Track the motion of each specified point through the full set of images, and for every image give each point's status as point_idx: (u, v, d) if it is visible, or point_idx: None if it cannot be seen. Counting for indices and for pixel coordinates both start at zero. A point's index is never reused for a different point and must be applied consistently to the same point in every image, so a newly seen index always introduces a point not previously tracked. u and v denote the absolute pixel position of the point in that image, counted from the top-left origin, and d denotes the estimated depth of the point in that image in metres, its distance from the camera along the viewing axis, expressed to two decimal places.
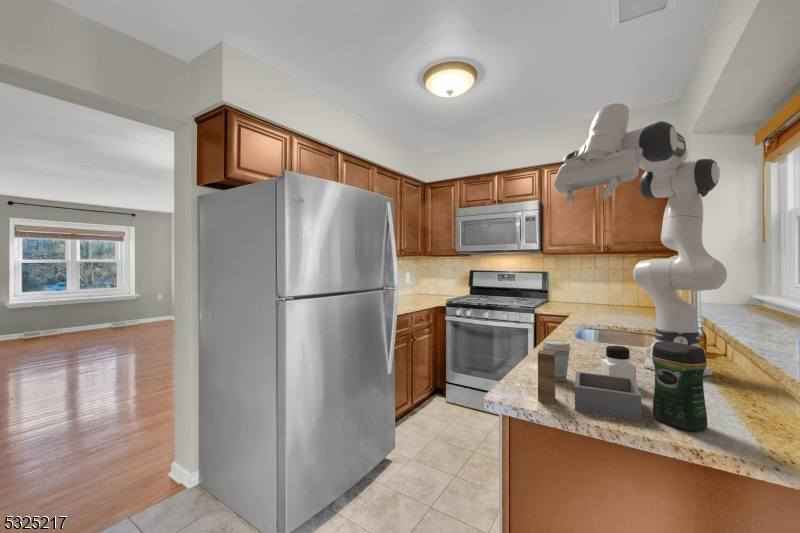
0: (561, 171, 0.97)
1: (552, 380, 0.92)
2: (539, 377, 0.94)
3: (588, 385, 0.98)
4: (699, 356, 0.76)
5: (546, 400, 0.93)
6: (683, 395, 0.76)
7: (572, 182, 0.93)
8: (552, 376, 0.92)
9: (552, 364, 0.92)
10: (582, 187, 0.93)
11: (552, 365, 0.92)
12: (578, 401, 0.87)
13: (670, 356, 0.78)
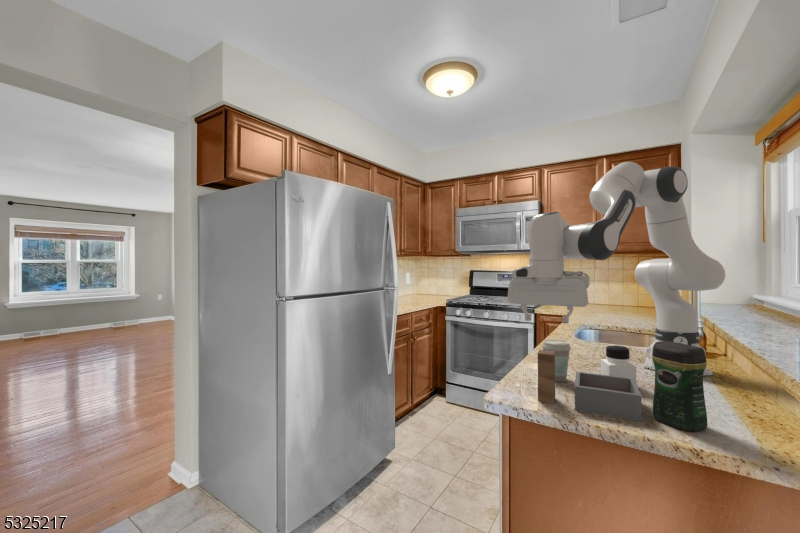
0: (512, 287, 0.97)
1: (552, 380, 0.92)
2: (539, 377, 0.94)
3: (588, 385, 0.98)
4: (699, 356, 0.76)
5: (546, 400, 0.93)
6: (683, 395, 0.76)
7: (528, 303, 0.95)
8: (552, 376, 0.92)
9: (552, 364, 0.92)
10: None
11: (552, 365, 0.92)
12: (578, 401, 0.87)
13: (670, 356, 0.78)
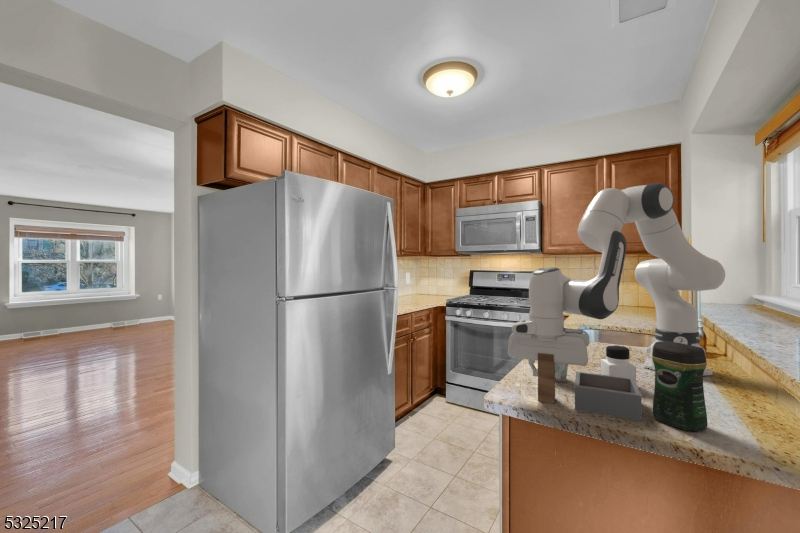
0: (512, 341, 0.97)
1: (552, 380, 0.92)
2: (539, 377, 0.94)
3: (588, 385, 0.98)
4: (699, 355, 0.76)
5: (546, 400, 0.93)
6: (683, 395, 0.76)
7: (528, 358, 0.95)
8: (552, 376, 0.92)
9: (552, 364, 0.92)
10: None
11: (552, 365, 0.92)
12: (578, 401, 0.87)
13: (670, 356, 0.78)
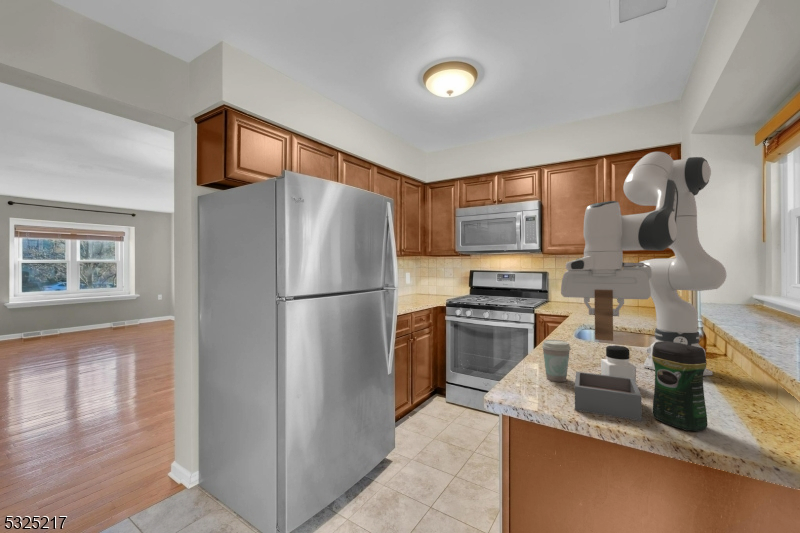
0: (567, 280, 0.93)
1: (611, 317, 0.88)
2: (596, 315, 0.90)
3: (588, 385, 0.98)
4: (699, 356, 0.76)
5: (604, 338, 0.89)
6: (683, 395, 0.76)
7: (584, 296, 0.91)
8: (611, 312, 0.88)
9: (611, 300, 0.88)
10: None
11: (611, 301, 0.88)
12: (578, 401, 0.87)
13: (670, 356, 0.78)
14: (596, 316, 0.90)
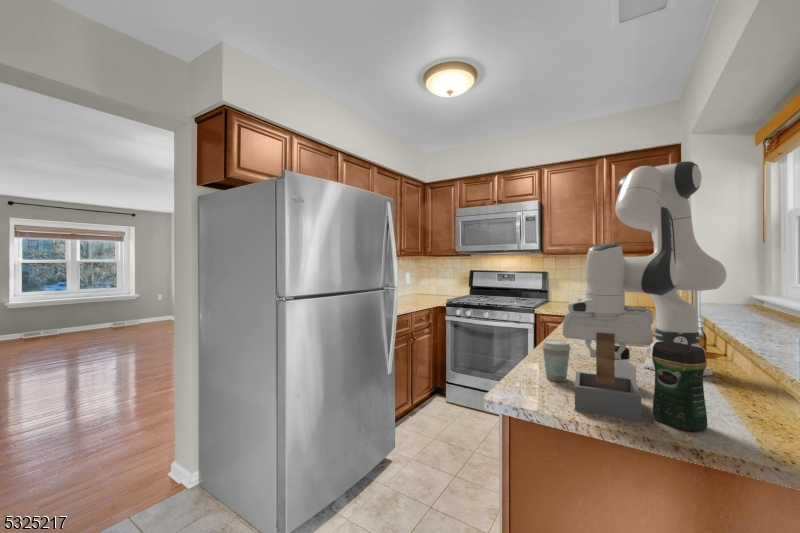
0: (568, 321, 0.93)
1: (613, 360, 0.88)
2: (598, 358, 0.90)
3: (588, 385, 0.98)
4: (699, 356, 0.76)
5: (606, 381, 0.89)
6: (683, 395, 0.76)
7: (586, 338, 0.91)
8: (613, 356, 0.88)
9: (613, 344, 0.88)
10: None
11: (613, 345, 0.88)
12: (578, 401, 0.87)
13: (670, 356, 0.78)
14: (598, 359, 0.90)
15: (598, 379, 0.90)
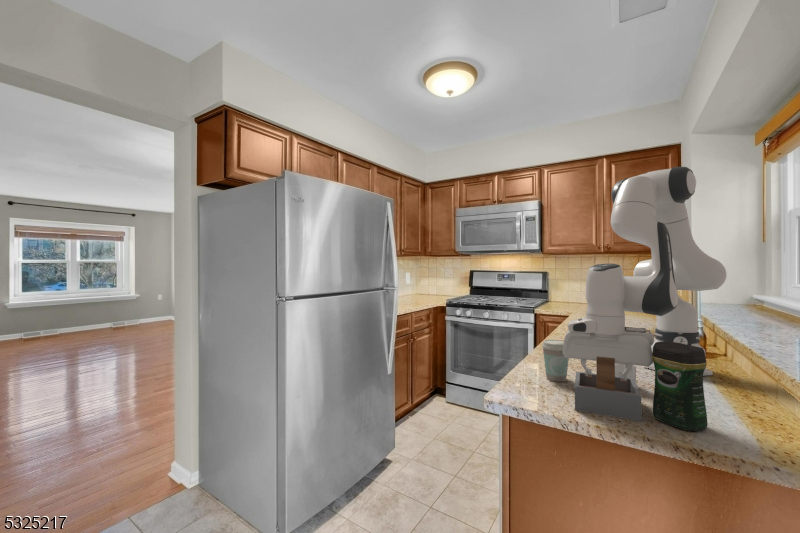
0: (569, 341, 0.93)
1: (613, 385, 0.88)
2: (598, 382, 0.90)
3: (588, 385, 0.98)
4: (699, 356, 0.76)
5: None
6: (683, 395, 0.76)
7: (586, 358, 0.91)
8: (613, 381, 0.88)
9: (613, 368, 0.88)
10: None
11: (613, 369, 0.88)
12: (578, 401, 0.87)
13: (670, 356, 0.78)
14: (598, 383, 0.90)
15: None
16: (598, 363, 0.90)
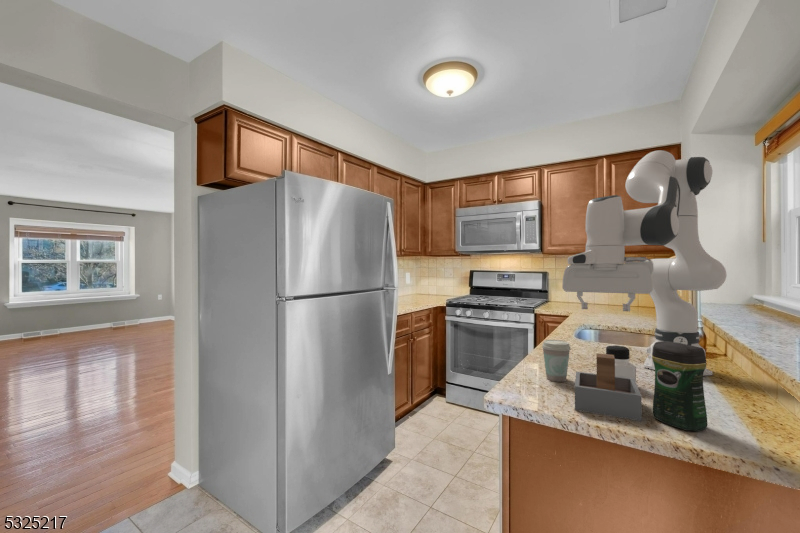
0: (568, 274, 0.93)
1: (613, 385, 0.88)
2: (598, 382, 0.90)
3: (588, 385, 0.98)
4: (699, 356, 0.76)
5: None
6: (683, 395, 0.76)
7: (586, 291, 0.91)
8: (613, 381, 0.88)
9: (613, 368, 0.88)
10: None
11: (613, 369, 0.88)
12: (578, 401, 0.87)
13: (670, 356, 0.78)
14: (598, 383, 0.90)
15: None
16: (598, 363, 0.90)
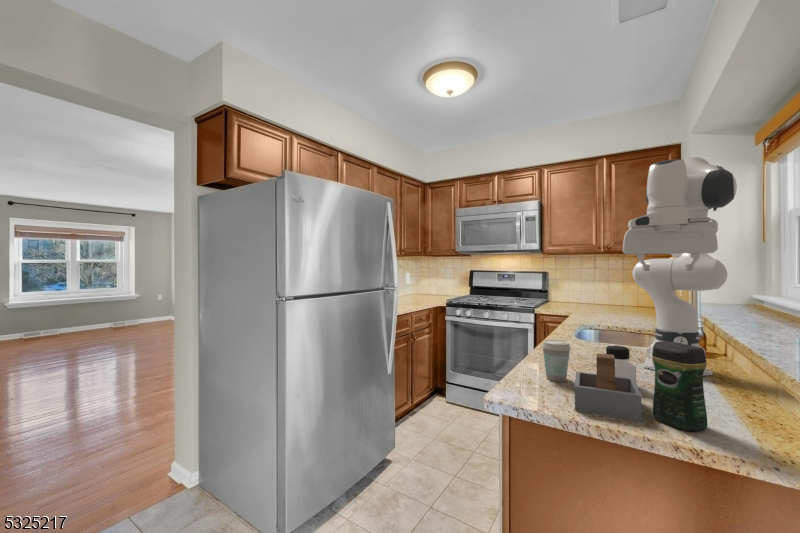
0: (630, 237, 0.95)
1: (613, 385, 0.88)
2: (598, 382, 0.90)
3: (588, 385, 0.98)
4: (699, 356, 0.76)
5: None
6: (683, 395, 0.76)
7: (648, 252, 0.94)
8: (613, 381, 0.88)
9: (613, 368, 0.88)
10: None
11: (613, 369, 0.88)
12: (578, 401, 0.87)
13: (670, 356, 0.78)
14: (598, 383, 0.90)
15: None
16: (598, 363, 0.90)
